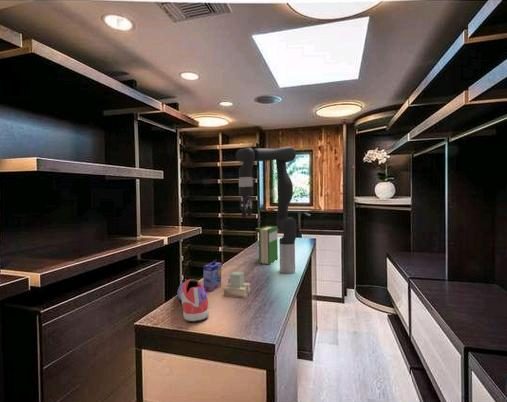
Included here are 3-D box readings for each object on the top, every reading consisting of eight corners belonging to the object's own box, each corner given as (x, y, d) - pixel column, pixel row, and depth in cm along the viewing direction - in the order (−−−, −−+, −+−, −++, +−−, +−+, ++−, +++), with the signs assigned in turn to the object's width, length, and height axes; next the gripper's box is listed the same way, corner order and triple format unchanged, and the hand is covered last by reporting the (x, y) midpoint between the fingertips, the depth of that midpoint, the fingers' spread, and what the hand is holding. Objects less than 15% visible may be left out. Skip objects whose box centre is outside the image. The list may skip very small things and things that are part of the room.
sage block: (234, 283, 142) (234, 271, 142) (243, 284, 140) (243, 272, 140) (230, 286, 137) (230, 274, 137) (240, 287, 135) (239, 275, 135)
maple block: (231, 289, 145) (230, 282, 145) (250, 291, 142) (250, 283, 142) (224, 296, 135) (223, 288, 135) (244, 298, 133) (244, 289, 132)
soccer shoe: (202, 291, 143) (201, 264, 142) (214, 322, 108) (213, 286, 108) (176, 294, 139) (175, 266, 139) (180, 327, 104) (179, 290, 104)
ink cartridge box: (212, 291, 141) (212, 262, 141) (202, 290, 143) (202, 261, 143) (222, 285, 150) (221, 258, 150) (212, 284, 152) (212, 257, 152)
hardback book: (269, 265, 192) (269, 229, 191) (259, 264, 195) (258, 228, 194) (277, 259, 208) (277, 226, 208) (268, 258, 211) (267, 225, 210)
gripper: (244, 186, 162) (244, 215, 162) (234, 186, 148) (235, 217, 149) (256, 185, 159) (257, 215, 160) (248, 185, 146) (249, 217, 146)
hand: (246, 216), depth 154 cm, fingers open, 8 cm apart
